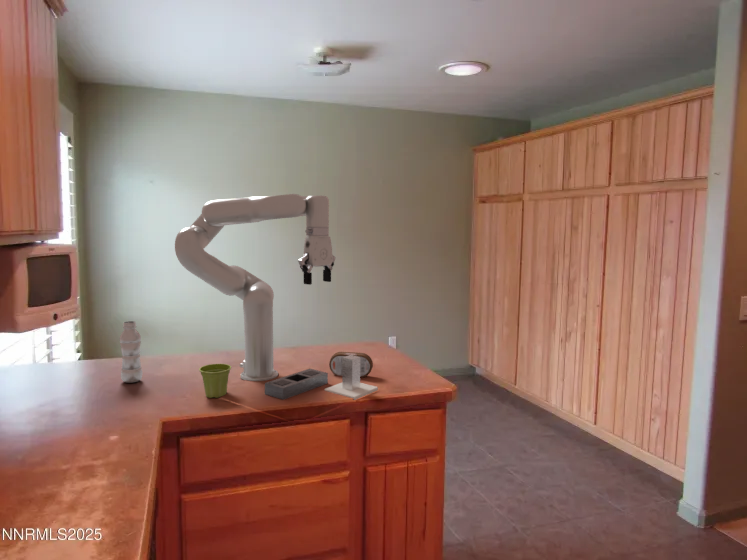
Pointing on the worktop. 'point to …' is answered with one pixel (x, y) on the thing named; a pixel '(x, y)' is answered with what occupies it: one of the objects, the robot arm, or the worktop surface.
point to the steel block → (351, 372)
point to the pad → (354, 394)
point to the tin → (337, 358)
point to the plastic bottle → (130, 353)
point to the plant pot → (215, 379)
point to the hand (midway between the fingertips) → (317, 282)
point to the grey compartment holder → (296, 383)
